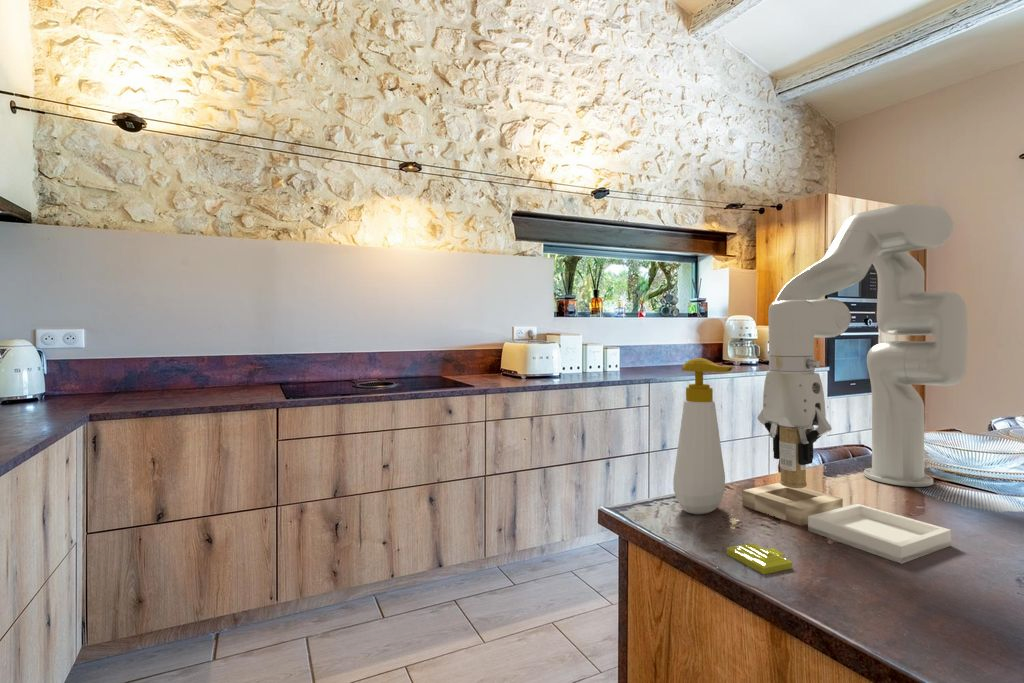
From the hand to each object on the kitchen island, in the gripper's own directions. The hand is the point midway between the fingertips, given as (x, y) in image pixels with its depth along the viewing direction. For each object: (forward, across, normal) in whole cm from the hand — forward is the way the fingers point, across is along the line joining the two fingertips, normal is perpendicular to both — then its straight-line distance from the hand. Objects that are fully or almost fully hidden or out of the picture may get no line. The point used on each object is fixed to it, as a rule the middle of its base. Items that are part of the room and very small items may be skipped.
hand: (792, 459), depth 96 cm
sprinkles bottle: (+5, 0, 0) cm, 5 cm away
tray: (+9, -15, +1) cm, 18 cm away
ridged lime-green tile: (+10, -12, +25) cm, 29 cm away
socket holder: (+9, 0, +1) cm, 9 cm away
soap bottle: (+9, +7, +16) cm, 20 cm away
